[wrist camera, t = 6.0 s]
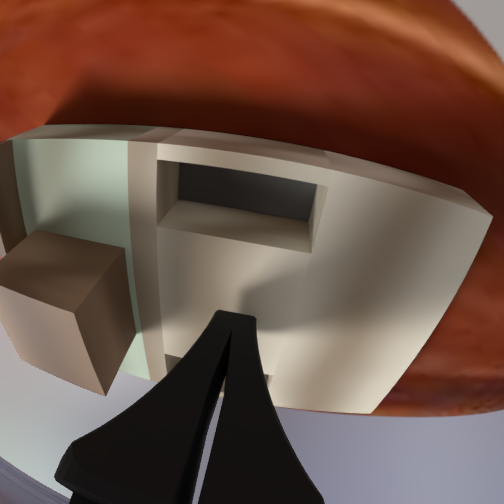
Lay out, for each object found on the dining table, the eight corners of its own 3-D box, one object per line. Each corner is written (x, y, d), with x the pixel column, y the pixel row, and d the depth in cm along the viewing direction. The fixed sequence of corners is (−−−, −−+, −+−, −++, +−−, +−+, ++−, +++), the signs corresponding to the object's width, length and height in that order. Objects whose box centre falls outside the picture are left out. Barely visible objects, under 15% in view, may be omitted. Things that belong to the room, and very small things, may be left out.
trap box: (462, 189, 10) (515, 238, 7) (365, 378, 16) (373, 436, 13) (43, 125, 11) (-22, 151, 7) (78, 321, 17) (47, 367, 14)
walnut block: (124, 247, 10) (73, 312, 7) (136, 333, 13) (105, 396, 10) (35, 229, 10) (-18, 277, 7) (58, 309, 13) (21, 359, 10)
